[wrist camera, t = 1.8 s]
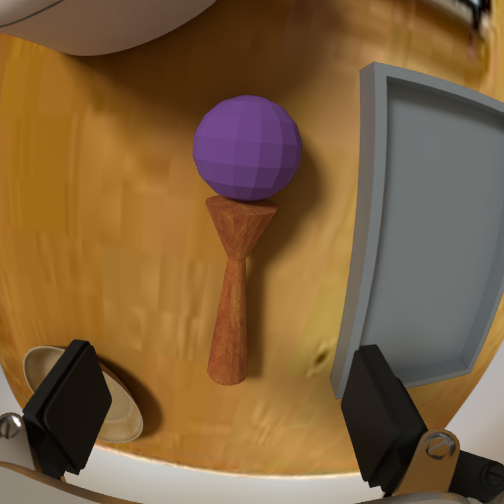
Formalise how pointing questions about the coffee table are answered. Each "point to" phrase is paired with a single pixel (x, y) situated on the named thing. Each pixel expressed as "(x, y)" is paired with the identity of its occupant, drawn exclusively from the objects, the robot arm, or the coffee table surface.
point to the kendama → (242, 205)
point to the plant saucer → (123, 404)
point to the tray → (424, 227)
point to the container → (95, 22)
